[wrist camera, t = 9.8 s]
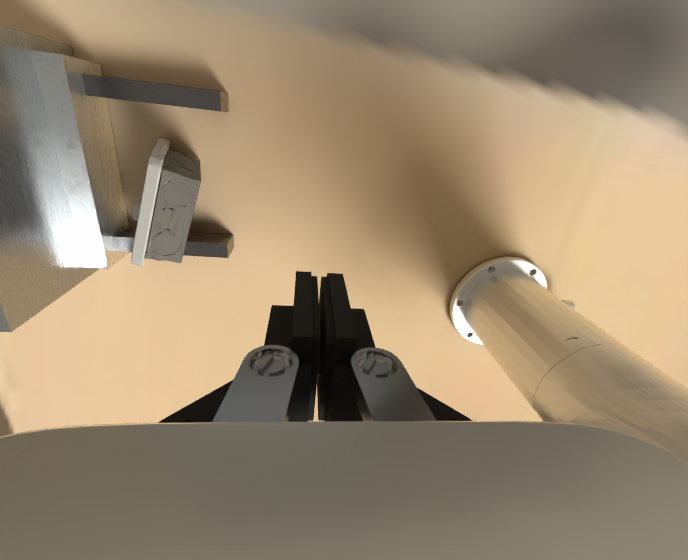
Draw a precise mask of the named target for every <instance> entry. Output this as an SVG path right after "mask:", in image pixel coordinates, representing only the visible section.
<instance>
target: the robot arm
mask: <svg viewBox="0 0 688 560" xmlns="http://www.w3.org/2000/svg"><path fill="white" fill-rule="evenodd" d="M574 307H575V305H574V303H573V301H570V300H560V299H559V298H557V297H556V296H555V295H553V294H552V293H550V292H549V291H548V286H547V280H546V278H545V276H544V274H543V273H542V271H541V270H540V269H539V268H538V267H537V266H535V265H534V264H532V263H531V262H529V261H527V260H525V259H522V258H518V257H509V256H507V257H499V258H495V259H492V260H489V261H486V262H484V263H482V264H480V265H479V266H477V267H476V268H474V269H473V270H471V271H470V272H469V273H468V274H467V275H466V276H465V277H464V278H463V279H462V280H461V281H460V283H459V284H458V285H457V287H456V289H455V291H454V293H453V295H452V298H451V301H450V318H451V320H452V323H453V325H454V327H455V328H456V330H457V331H458V332H459V333H460V335H461V336H463V337H464V338H465V339H467V340H469V341H471V342H474V343H478V344H483V345H484V346H485V347H486V349H487V350H488V351H489V352H490V354H491V355H492V356H493V357H494V359H495V360H496V361H497V363H498V364H499V365H500V366H501V368H502V369H503V370H504V372H505V373H506V374H507V375H508V377H509V378H510V379H511V381H512V382H513V383H514V384H515V386H516V387H517V388H518V390H519V391H520V392H521V393H522V395H523V396H524V397H525V398H526V400H527V401H528V402H529V404H530V405H531V406H532V407H533V409H534V410H535V411H536V413H537V414H538V415H539V417H540V418H541V419H542V420H543V422H535V421H472V420H471V419H469V418H468V417H466V416H464V415H463V414H461V413H459V412H458V411H456V410H454V409H452V408H451V407H449V406H447V405H446V404H444V403H442V402H440V401H439V400H437V399H435V398H434V397H432V396H430V395H429V394H427V393H425V392H423V391H422V390H420V389H418V388H417V387H416V386H415V384H414V382H413V381H412V379H411V377H410V376H409V374H408V372H407V371H406V369H405V367H404V366H403V364H402V362H401V361H400V360H399V359H398V357H397V356H395V355H394V354H392V353H391V352H389V351H386V350H384V349H380V348H375V344H374V341H373V338H372V334H371V331H370V328H369V324H368V321H367V318H366V314H365V311H364V309H351V308H350V304H349V299H348V295H347V291H346V286H345V282H344V277H343V274H334V273H328V274H327V277H321V287H320V298H319V300H318V284H317V276H311V272H299V271H296V282H295V296H294V306H279V305H272V307H271V312H270V318H269V323H268V328H267V333H266V339H265V344H264V346H261V347H258V348H256V349H254V350H252V351H251V352H249V353H248V354H247V355H246V357H245V358H244V360H243V362H242V364H241V366H240V368H239V370H238V372H237V374H236V376H235V378H234V380H232V381H230V382H229V383H227V384H225V385H223V386H222V387H220V388H218V389H216V390H214V391H213V392H211V393H209V394H207V395H206V396H204V397H202V398H200V399H198V400H197V401H195V402H193V403H191V404H190V405H188V406H186V407H184V408H182V409H181V410H179V411H177V412H175V413H174V414H172V415H170V416H168V417H167V418H165V419H163V420H161V421H160V422H158V423H126V424H101V425H75V426H65V427H55V428H46V429H38V430H33V431H27V432H22V433H16V434H11V435H6V436H1V437H0V560H688V389H687V388H686V387H684V386H683V385H681V384H680V383H678V382H677V381H675V380H674V379H672V378H671V377H669V376H668V375H666V374H665V373H663V372H662V371H660V370H659V369H657V368H656V367H654V366H653V365H651V364H650V363H649V362H647V361H646V360H644V359H643V358H641V357H640V356H639V355H637V354H636V353H634V352H633V351H632V350H630V349H629V348H627V347H626V346H625V345H623V344H622V343H620V342H619V341H618V340H616V339H615V338H613V337H612V336H611V335H609V334H608V333H606V332H605V331H604V330H602V329H601V328H599V327H598V326H597V325H595V324H594V323H592V322H591V321H590V320H588V319H587V318H585V317H584V316H583V315H581V314H580V313H578V312H577V311H576V310H574ZM316 385H317V395H318V419H319V420H325V422H308V421H313V417H314V407H315V396H316Z"/></svg>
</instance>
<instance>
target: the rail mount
mask: <svg viewBox="0 0 688 560" xmlns="http://www.w3.org/2000/svg"><path fill="white" fill-rule="evenodd" d="M107 98H113V99H122V100H130V101H138V102H147V103H155V104H164V105H172V106H181V107H189V108H198V109H206V110H215V111H224V112H229V109H228V94H227V93H224V92H221V91H215V90H207V89H199V88H191V87H183V86H175V85H167V84H159V83H151V82H143V81H135V80H128V79H120V78H112V77H104V76H103V75H102V70H101V64H97V63H93V62H89V61H86V60H82V59H78V58H74V54H73V49H72V47H70V46H67V45H64V44H61V43H57V42H54V41H51V40H48V39H44V38H41V37H38V36H35V35H31V34H28V33H25V32H21V31H18V30H15V29H12V28H8V27H5V26H2V25H0V332H12V331H13V330H15V329H16V328H18V327H19V326H20V325H22V324H23V323H25V322H26V321H27V320H29V319H30V318H31V317H33V316H34V315H36V314H37V313H38V312H40V311H41V310H43V309H44V308H45V307H47V306H48V305H50V304H51V303H52V302H54V301H55V300H56V299H58V298H59V297H61V296H62V295H63V294H65V293H66V292H68V291H69V290H70V289H72V288H73V287H75V286H76V285H77V284H79V283H80V282H81V281H83V280H84V279H86V278H87V277H88V276H90V275H91V274H93V273H94V272H95V271H97V270H98V269H100V268H104V269H109V268H110V267H111V266H113V265H114V264H115V263H117V262H118V261H119V260H121V259H122V258H123V257H125V256H126V255H127V254H129V253H130V252H132V249H133V243H134V237H135V232H136V228H129V222H128V217H127V211H126V205H125V200H124V194H123V188H122V183H121V177H120V171H119V166H118V160H117V154H116V149H115V143H114V137H113V132H112V126H111V120H110V115H109V109H108V103H107ZM233 248H234V241H233V235H230V234H216V233H201V232H189V233H188V237H187V241H186V245H185V249H184V253H183V255H189V256H205V257H222V258H228V257H229V255H230V253H231V252H232V250H233Z"/></svg>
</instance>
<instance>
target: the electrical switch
mask: <svg viewBox="0 0 688 560" xmlns="http://www.w3.org/2000/svg"><path fill="white" fill-rule="evenodd" d="M169 144H170V140H166V139H163V138H159V139H158V141H157V142H156V144H155V146H154V148H153V150H152V152H151V155H150V157H149V160H148V165H147V170H146V176H145V181H144V187H143V192H142V198H141V199H139V200H138V201H136V203H135V205H134V209H133V214H132V219H133V220H136V221H137V226H136V232H135V237H134V243H133V249H132V256H131V264H133V265H138V266H143V261H144V258H146V259H154V260H158V261H161V260H167V261H172V262H178V263H181V262H182V257H183V253H184V249H185V245H186V241H187V237H188V233H189V229H190V224H191V220H192V216H193V212H194V208H195V204H196V200H197V196H198V191H199V187H200V183H201V182H199V181H201V173H200V161H199V160H196V159H193V158H190V157H187V156H186V155H185V154H182V153H179V152H176V151H173V150H170V149H169ZM196 180H198V181H196Z"/></svg>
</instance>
